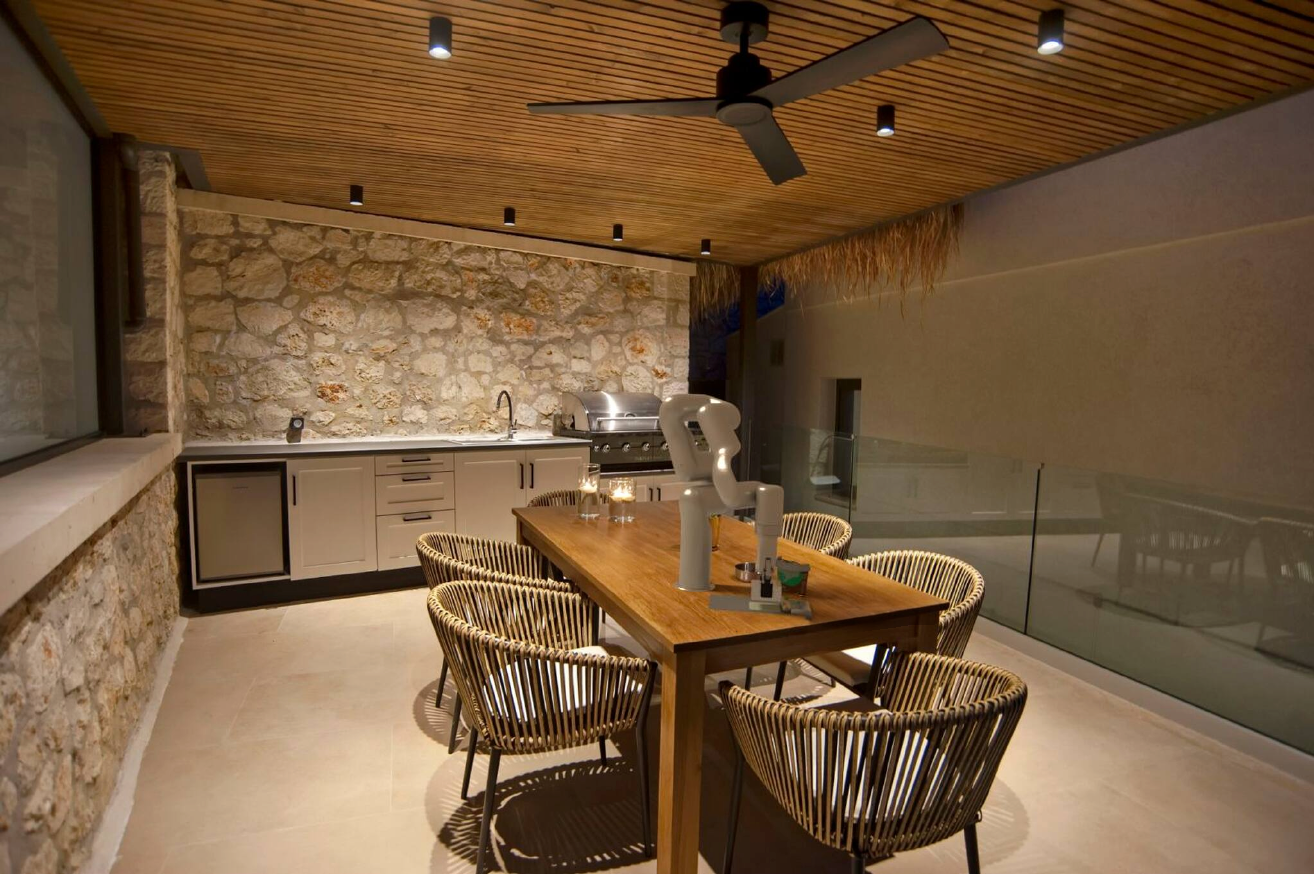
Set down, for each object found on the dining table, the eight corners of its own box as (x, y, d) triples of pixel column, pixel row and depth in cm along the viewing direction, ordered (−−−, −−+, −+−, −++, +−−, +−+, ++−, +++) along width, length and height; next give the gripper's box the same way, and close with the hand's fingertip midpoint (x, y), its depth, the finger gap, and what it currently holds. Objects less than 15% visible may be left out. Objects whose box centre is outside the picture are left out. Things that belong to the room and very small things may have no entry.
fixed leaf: (780, 603, 201) (780, 594, 200) (807, 605, 200) (808, 596, 200) (782, 613, 191) (782, 605, 191) (811, 615, 190) (811, 607, 190)
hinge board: (709, 597, 207) (710, 593, 207) (806, 604, 204) (807, 600, 204) (708, 612, 193) (708, 608, 193) (812, 619, 190) (812, 615, 190)
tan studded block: (750, 593, 199) (751, 579, 199) (779, 595, 198) (780, 580, 198) (751, 599, 193) (752, 584, 193) (781, 601, 192) (781, 586, 192)
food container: (764, 589, 217) (766, 557, 217) (778, 586, 221) (780, 555, 220) (795, 600, 208) (797, 566, 207) (809, 596, 211) (810, 564, 211)
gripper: (753, 523, 204) (751, 584, 205) (755, 535, 186) (753, 602, 188) (780, 524, 203) (777, 586, 204) (784, 536, 186) (781, 604, 187)
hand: (765, 593), depth 196 cm, fingers closed on tan studded block, 6 cm apart
